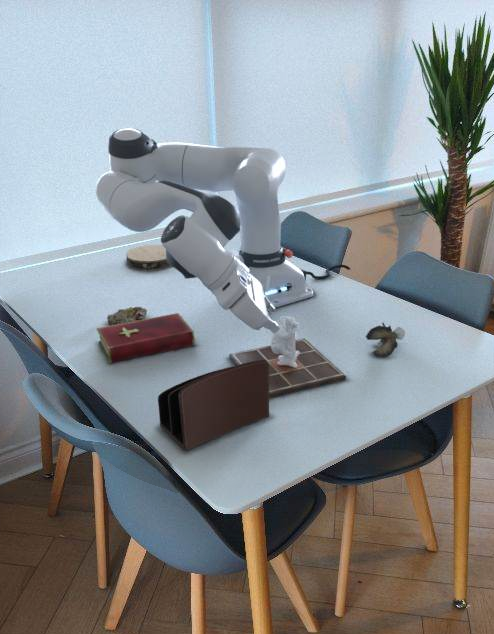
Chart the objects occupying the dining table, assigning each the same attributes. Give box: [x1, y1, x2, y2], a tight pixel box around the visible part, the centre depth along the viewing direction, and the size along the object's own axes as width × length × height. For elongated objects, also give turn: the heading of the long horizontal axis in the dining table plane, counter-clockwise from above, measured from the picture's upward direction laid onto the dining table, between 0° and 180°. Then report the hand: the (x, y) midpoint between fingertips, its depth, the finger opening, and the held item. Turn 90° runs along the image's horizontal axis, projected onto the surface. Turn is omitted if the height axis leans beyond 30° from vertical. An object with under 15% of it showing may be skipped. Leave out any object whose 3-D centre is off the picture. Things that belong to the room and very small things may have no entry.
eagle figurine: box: [365, 321, 406, 358], centre depth 145 cm, size 8×7×9 cm
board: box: [228, 337, 347, 399], centre depth 139 cm, size 20×20×1 cm
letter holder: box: [157, 360, 270, 452], centre depth 117 cm, size 10×20×14 cm, turn 126°
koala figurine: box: [270, 315, 300, 368], centre depth 136 cm, size 8×7×12 cm
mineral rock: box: [106, 306, 148, 325], centre depth 161 cm, size 11×4×8 cm
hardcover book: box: [96, 312, 196, 364], centre depth 148 cm, size 12×21×4 cm, turn 115°
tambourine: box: [125, 244, 172, 271], centre depth 198 cm, size 16×16×3 cm
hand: (275, 320), depth 133 cm, fingers open, 8 cm apart
